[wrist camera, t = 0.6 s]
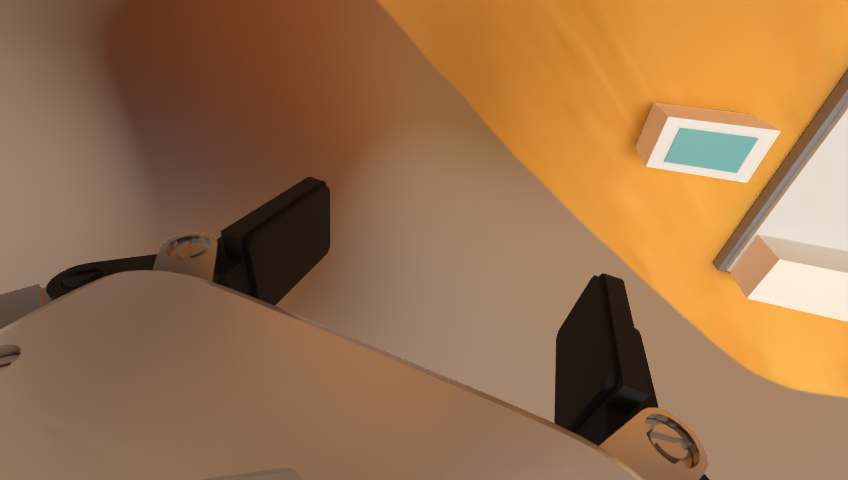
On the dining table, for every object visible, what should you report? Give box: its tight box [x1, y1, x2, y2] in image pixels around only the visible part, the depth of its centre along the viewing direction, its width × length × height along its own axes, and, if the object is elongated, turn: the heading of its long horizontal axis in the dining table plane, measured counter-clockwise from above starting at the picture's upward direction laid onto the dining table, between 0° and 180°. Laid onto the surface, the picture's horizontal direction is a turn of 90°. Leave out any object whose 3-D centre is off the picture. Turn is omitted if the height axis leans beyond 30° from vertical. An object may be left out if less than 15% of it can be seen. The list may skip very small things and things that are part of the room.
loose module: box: [635, 102, 781, 183], centre depth 31 cm, size 4×8×6 cm, turn 87°
